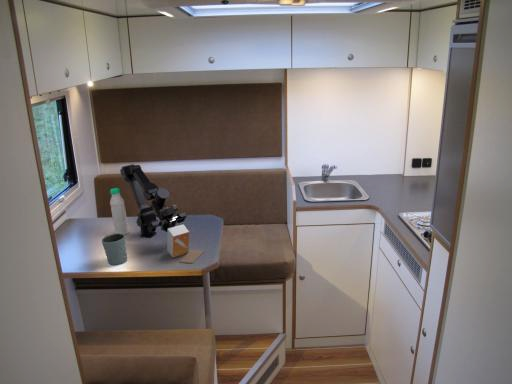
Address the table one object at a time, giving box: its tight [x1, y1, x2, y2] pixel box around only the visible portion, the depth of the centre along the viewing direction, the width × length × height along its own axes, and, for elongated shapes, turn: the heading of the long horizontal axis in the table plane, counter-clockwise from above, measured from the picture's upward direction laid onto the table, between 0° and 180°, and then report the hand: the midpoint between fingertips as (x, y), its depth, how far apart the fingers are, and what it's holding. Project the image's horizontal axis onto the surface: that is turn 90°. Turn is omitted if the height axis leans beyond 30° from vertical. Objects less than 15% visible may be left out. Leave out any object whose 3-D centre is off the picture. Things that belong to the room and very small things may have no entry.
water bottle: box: [109, 187, 130, 236], centre depth 229 cm, size 7×7×25 cm
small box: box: [166, 224, 190, 259], centre depth 200 cm, size 8×6×13 cm
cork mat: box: [178, 249, 205, 265], centre depth 200 cm, size 6×12×1 cm, turn 162°
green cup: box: [101, 233, 128, 267], centre depth 199 cm, size 10×10×12 cm
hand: (175, 236), depth 203 cm, fingers closed
